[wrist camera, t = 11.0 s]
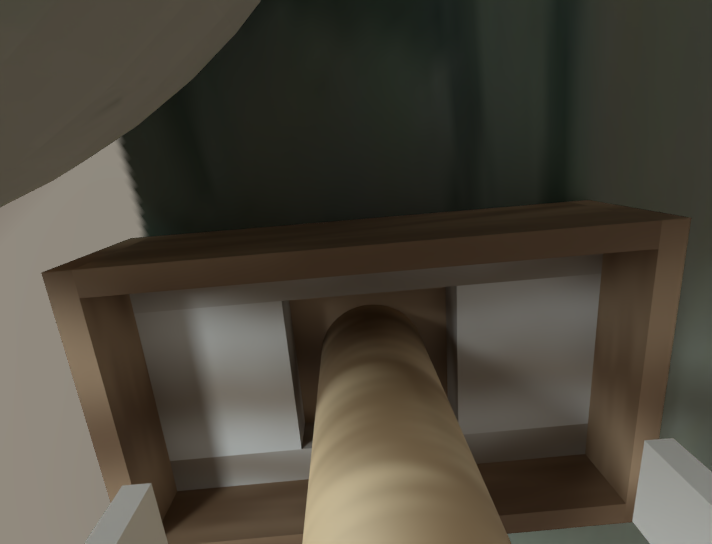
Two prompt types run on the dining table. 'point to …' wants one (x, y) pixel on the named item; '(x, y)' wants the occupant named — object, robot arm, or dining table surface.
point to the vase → (94, 74)
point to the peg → (390, 444)
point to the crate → (435, 326)
